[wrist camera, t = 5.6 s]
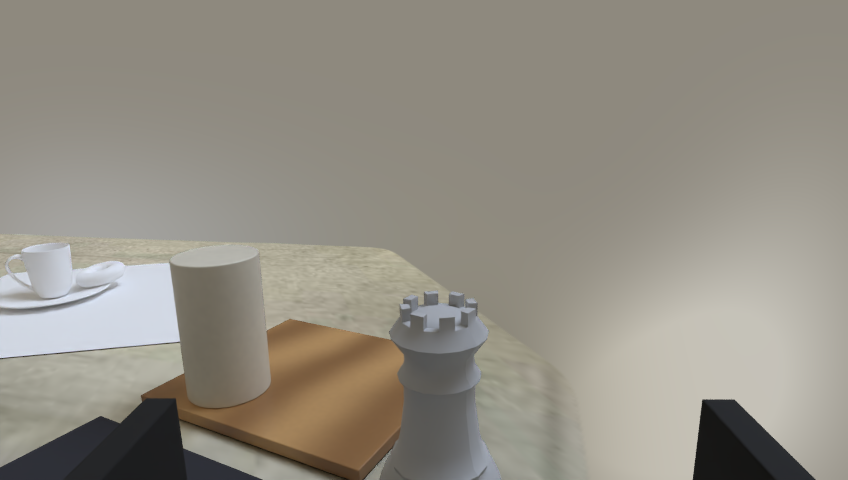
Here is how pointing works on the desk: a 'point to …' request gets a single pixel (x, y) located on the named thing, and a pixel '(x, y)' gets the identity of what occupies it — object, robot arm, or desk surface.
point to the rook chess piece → (439, 392)
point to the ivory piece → (221, 324)
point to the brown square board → (314, 400)
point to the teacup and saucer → (83, 304)
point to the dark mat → (49, 464)
